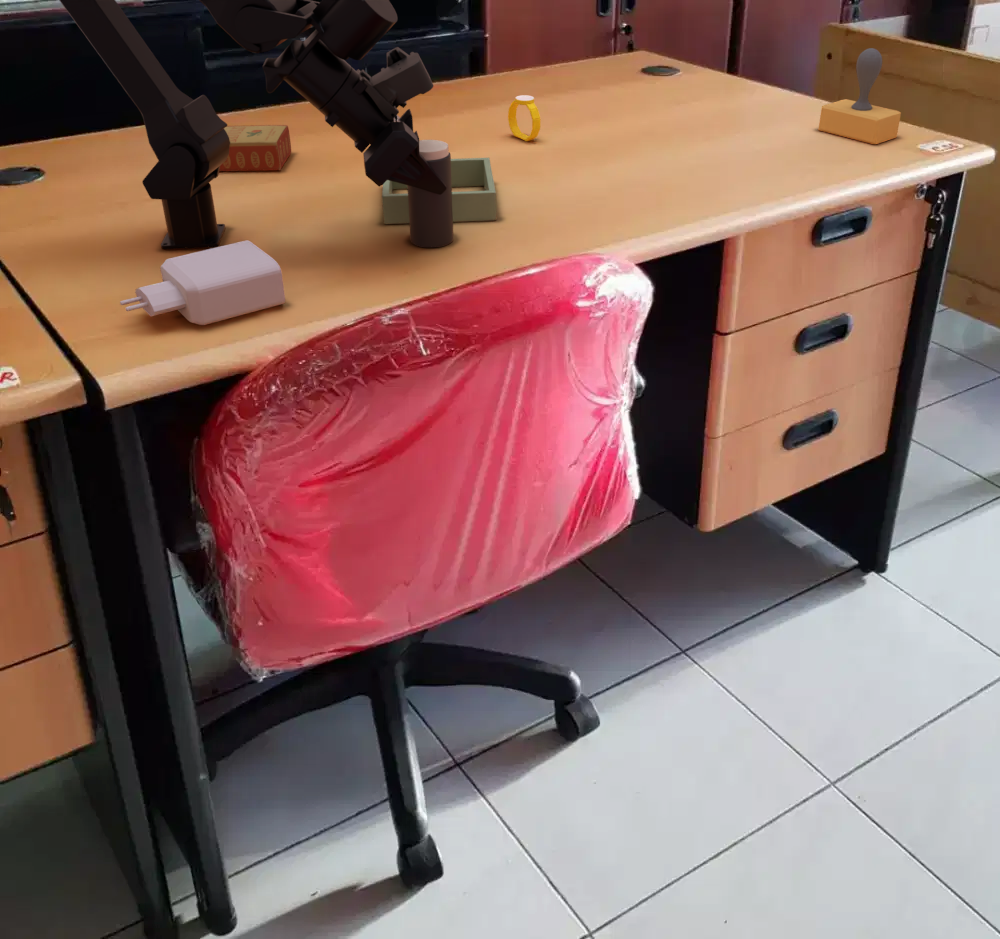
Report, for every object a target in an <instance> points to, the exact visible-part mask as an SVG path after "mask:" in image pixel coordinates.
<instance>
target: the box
mask: <svg viewBox="0 0 1000 939" xmlns="http://www.w3.org/2000/svg"><path fill="white" fill-rule="evenodd" d="M451 182H452V188H460V187H461V188H463V187H466V188H467V187H484V190H466V191H465V190H464V191H452V212H453V223H457V222H459V223H460V222H485V221H497V192H496V191H497V190H496V185H495V180H494V175H493V170H492V164H491V160H490V157H471V158H470V157H467V158H466V157H465V158H463V157H461V158H451ZM404 189H407V190H408V187H407V185H405V184H401V183H397V182H393V181H389V180H387V181H386V182H385V183H384V184H383V185H382V191H381V194H382V195H381V201H382V202H381V203H382V216H383V225H396V224H397V225H398V224H399V225H400V224H401V225H402V224H410V222H409V205H408V192H407V193H406V192H405V193H404V192H403V193H393V190H404Z"/></svg>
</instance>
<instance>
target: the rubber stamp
mask: <svg viewBox="0 0 1000 939" xmlns="http://www.w3.org/2000/svg"><path fill="white" fill-rule="evenodd" d="M882 66H883V56H882V54H881V52H880V51H879V50H878V49H877V48H872V47H870V48H866V49H865V50H863V51H862V52H860V54H859V55H858V57H857V60H856V66H855V67H856V68H855V70H856V77H857V82H858V86H859V96H858V98H857V100H852V99H846V98H844V99H841V100H837V101H834V102H830V103H827V104H823V105H821V109H820V115H819V116H820V117H819V123H818V129H817V130H818V131H820V132H824V133H828V134H831V135H835V136H840V137H844V138H847V139H852V140H854V141H855V140H856V141H859V142H862V143H866V144H871V145H877V144H881V143H884V142H886V141H889V140H893V139H896V138H897V137H898V132H899V127H900V121H901V115H902V112H900V111H899V110H896V109H891V108H886V107H882V106H878V105H873V104H871V102H870V101H869V95H870V92H871V89H872V87H873V86H874V83H875V82H876V80H877V78H878V76H879V74H880V72H881V71H882V68H883V67H882Z"/></svg>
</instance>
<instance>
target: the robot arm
mask: <svg viewBox="0 0 1000 939" xmlns="http://www.w3.org/2000/svg"><path fill="white" fill-rule="evenodd" d="M198 1H199V2H200V3H201V4H202V5H203V6H204V7H205V8H206V9H207V11H208V12H209V13H210V15H211V16H212V18H213V19H214V21H215V22H216V24H217V25H218V26H219V27H220V28H221V29H222V30H223V31H224V32H225V33H226V34H227V35H229V36H230V37H231V38H232V40H234V41H235V42H236V43H237V45H239V46H240V47H242V48H243V49H244V50H246V51H248V52H251V53H254V54H259V53H260V54H262V53H266V52H270V51H271V50H273V49H274V48H276V47H278V46H279V45H281V44H283V43H284V42H285V41H287V40H288V39H289V40H290V39H294V40H292V41H291V42H290V44H289V45H288V46H287V47H286V48H285V49H284V51H283V52H282V53H280V55H279V56H278V57H274V58H273V57H267V58H265V60H264V62H263V65H262V70H263V72H264V76H265V90H266V92H267V93H268V94H271V93H273V92H275V90H276V89H277V88H278V87H279V86H280V85H281V84H282V83H283V82H284V81H285V82H286V83H287V84H288V85H289V86H290V87H291V88H292V89H294V90H295V92H297V93H298V94H300V95H301V97H303V98H304V99H305V100H306V101H307V102H308V103H310V104H311V105H312V106H313V107H314V108H315V109H317V110H318V111H319V112H320V113H321V114H322V115H323V116H324V121H325V123H327V124H328V125H329V126H330V127H331V128H333V127H335V126H336V127H337V128H338V129H340V130H341V131H342V132H343V133H344V134H345V135H346V136H348V137H349V138H350V139H351V140H352V141H353V143H354V144H353V145H354V147H355V149H356V150H358V151H359V152H360V153H362V154H363V166H364V172H365V176H366V177H367V178H368V179H369V180H371V182H373V183H374V184H375V185H376V186H377V187H382V186H383V184H384V183H385V182H386V181H387V180H389V181H393V182H397V183H401V184H405V185H408V186H412V187H415V188H419V189H422V190H425V191H429V192H432V193H435V194H439V195H442V194H443V193H444V192H445V190H446V189H447V187H446V185H445V184H444V183H443V181H442V180H441V179H440V177H439V176H438V175H437V174H436V172H435V171H434V170H433V169H432V167H431V166H430V165H429V164H428V162H427V161H426V160H425V158H424V157H423V156H422V155H421V153H420V152H419V140H420V137H419V134H418V131H417V130H414V120H413V119H414V118H413V114H412V111H411V108H408V109H406V110H405V111H404V113H402V115H401V116H399V113H400V111H399V107H401V108H403V109H404V108H405V107H406V106H407V104H408V103H407V102H408V101H410V100H411V99H414V98H415V97H417V96H419V95H425V94H426V93H428V92H430V91H431V90H432V89H433V88H434V83H433V81H432V78H431V77H430V74H429V72H428V70H427V69H426V66H425V64H424V62H423V60H422V58H421V57H420V54H419V53H418V52H414V51H411V52H409V54H408V53H407V52H406V51H404V50H403V49H402V48H400V47H399V46H396V47H394V48H393V49H391V50H389V51H387V52H386V67H382V68H380V71H378V72H377V73H375V74H374V75H372V76H371V75H370V74H368V73H367V72H366V70H364V69H361V70H360V69H359V68H358V69H356V70H355V68H353V67H352V66H351V65H350V63H348V62H347V60H349V59H352V60H355V61H361V60H362V59H363V58H365V56H366V55H367V54H368V53H369V52H370V51H371V50H372V49H373V48H374V47H375V46H376V44H378V42H379V41H380V40H381V39H382V38H383V37H384V36H385V35H386V34H387V33H388V32H389V31H390V30H391V28H392V27H393V26H394V25H395V24H396V23H397V22H398V20H399V19H398V14H397V11H396V9H395V8H394V6H393V5H392V3H391V1H390V0H321V1H316V0H198ZM59 2H60V4H61V5H62V6H63V7H64V9H65V10H66V12H67V13H68V14H69V16H70V17H71V18H72V20H73V22H74V23H75V24H76V25H77V27H78V28H79V30H80V31H81V32H82V33H83V35H84V36H85V38H86V39H87V41H88V42H89V43H90V45H91V46H92V47H93V49H94V50H95V51H96V53H97V54H98V55H99V57H100V58H101V59H102V61H103V63H104V64H105V65H106V67H107V68H108V69H109V71H110V72H111V73H112V75H113V76H114V78H115V79H116V80H117V82H118V83H119V84H120V86H121V87H122V89H123V90H124V91H125V93H126V94H127V95H128V97H129V98H130V100H131V101H132V102H133V103H134V105H135V106H136V107H137V109H138V111H139V112H140V114H141V117H142V119H143V123H144V127H145V131H146V136H147V142H148V144H149V146H150V148H151V150H152V152H153V153H154V155H155V157H156V159H157V160H158V161H157V162H156V164H155V165H154V166H153V167H152V169H151V170H150V171H149V172H148V173H147V175H146V176H145V177H144V178H143V179H142V185H143V187H144V189H145V191H146V193H147V195H148V196H149V198H150V199H151V200H161V205H162V210H163V215H164V220H165V225H166V230H167V232H166V234H165V236H164V238H163V240H162V241H161V243H160V247H161V249H162V250H179V249H204V248H205V249H206V248H208V249H211V248H216V247H220V243H221V241H222V238H223V236H224V234H225V231H226V224H224V223H218V222H217V221H218V220H217V214H216V210H215V202H214V198H213V197H214V196H213V191H212V186H211V182H212V181H213V180H214V179H217V178H218V177H219V174H220V171H219V170H220V165H221V164H223V163H224V162H225V161H226V159H227V157H228V155H229V148H230V140H229V137H228V135H227V133H226V131H225V129H224V128H225V127H227V126H228V123H227V122H225V121H224V120H222V119H221V117H220V116H219V115H218V113H217V112H216V110H215V109H214V107H213V105H212V103H211V101H210V99H209V98H208V97H207V96H206V95H205V94H202V95H200V96H199V97H197V98H195V99H193V98H191V97H189V96H188V95H187V94H185V93H184V92H182V91H181V90H180V89H179V88H178V87H177V86H176V84H175V83H174V82H173V80H172V79H171V77H170V75H169V74H168V72H166V70H165V69H164V68H163V66H162V65H161V63H160V62H159V60H158V59H157V58H156V56H155V54H154V52H152V51H151V49H150V48H149V46H148V45H147V43H146V42H145V40H144V39H143V38H142V36H141V35H140V33H139V32H138V30H137V29H136V28H135V26H134V25H133V23H132V22H131V21H130V18H129V17H128V16H127V15H126V14H125V12H124V11H123V9H122V8H121V7H120V5H119V4H118V2H117V0H59ZM312 27H313V28H314V29H315V30H314V31H313V32H312V33H310V35H309V36H308V37H307V38H305V40H304V41H303V40H300V39H295V38H296V37H298V36H300V35H302V34H303V33H304V32H305V31H307V30H310V29H311V28H312Z"/></svg>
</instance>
